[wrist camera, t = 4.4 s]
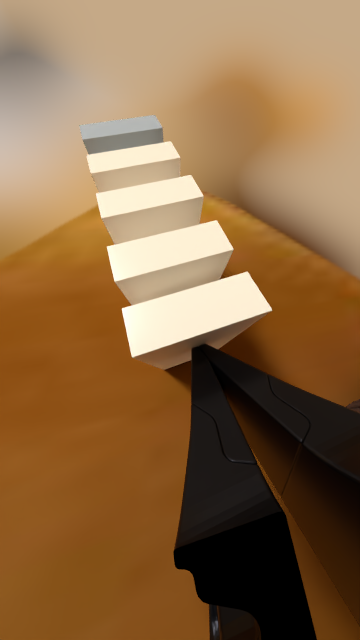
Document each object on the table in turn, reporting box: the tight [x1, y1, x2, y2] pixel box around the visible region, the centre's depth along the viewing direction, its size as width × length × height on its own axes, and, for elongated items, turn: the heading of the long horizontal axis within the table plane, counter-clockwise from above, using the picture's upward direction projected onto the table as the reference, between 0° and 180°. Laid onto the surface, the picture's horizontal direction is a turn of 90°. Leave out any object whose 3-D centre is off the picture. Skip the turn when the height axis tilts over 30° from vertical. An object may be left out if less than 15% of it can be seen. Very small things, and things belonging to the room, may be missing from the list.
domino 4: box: [107, 220, 234, 305], centre depth 11 cm, size 2×6×10 cm, turn 109°
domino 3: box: [96, 175, 204, 245], centre depth 13 cm, size 2×6×10 cm, turn 109°
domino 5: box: [122, 272, 272, 370], centre depth 10 cm, size 2×6×10 cm, turn 109°
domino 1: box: [79, 115, 163, 155], centre depth 15 cm, size 2×6×10 cm, turn 109°
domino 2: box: [87, 141, 180, 193], centre depth 14 cm, size 2×6×10 cm, turn 109°
